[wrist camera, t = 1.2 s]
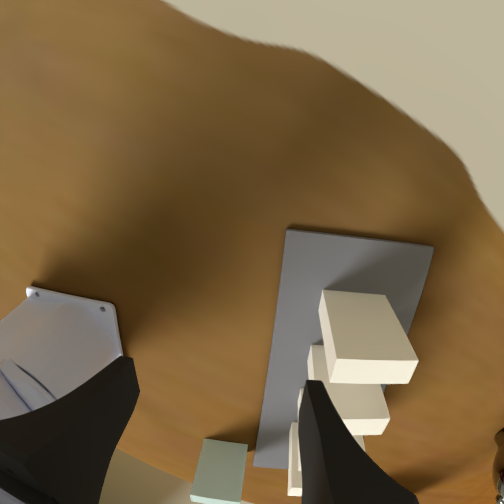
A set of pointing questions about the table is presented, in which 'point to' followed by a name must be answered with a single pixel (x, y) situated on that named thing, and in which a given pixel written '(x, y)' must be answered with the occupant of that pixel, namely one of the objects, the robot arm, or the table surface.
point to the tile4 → (351, 398)
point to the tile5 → (364, 340)
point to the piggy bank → (499, 468)
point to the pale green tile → (219, 473)
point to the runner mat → (308, 321)
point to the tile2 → (294, 463)
